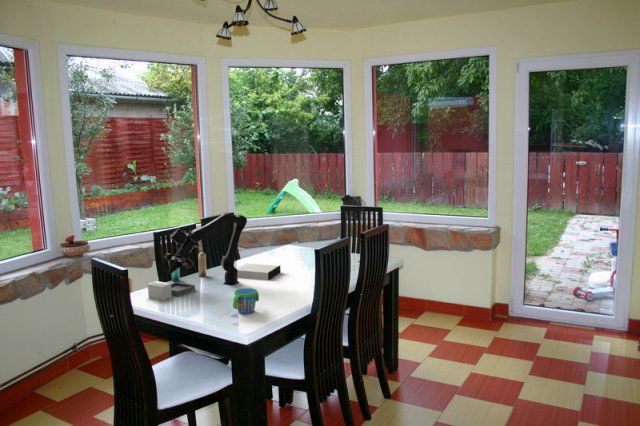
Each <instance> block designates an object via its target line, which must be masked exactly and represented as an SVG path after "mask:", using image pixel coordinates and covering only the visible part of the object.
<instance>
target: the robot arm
mask: <svg viewBox="0 0 640 426" xmlns="http://www.w3.org/2000/svg"><path fill="white" fill-rule="evenodd" d="M227 222H231V223H233V232H232V234H231V238H230V241H229V246H228V247H227V248H228V249H227V252H226V254H225V255H222V257H221V261H220V264H221V267H222V269H223V270H224V271H225V272H224V282H223V284H224V285H229V286H234V285H237V284H239V283H240V281H238V277H237V272H238V270H237V268H236V267H235V256H236V255H235V254H236V251H237V248H238V245H239V241H240V238H241V234H242V232H243V230H244V229H245V227H246V225H247V224H248V219H247V217H246V216H245V215H243V214H241V213H240V214H232V213H227V212H224V213H222V214H221V215H219V216H218V217H217V218H214V219H213V220H212V221H210V222H208V223H207V224H205V225H203V226H200V227H197V228H195V229H192V230H191V231H189V232H186V233H185V232H184V231H182V230H181V229H180V228H177V229H176V230H174V231H173V232H172V233H171V235H170V238H169V239H171V240H172V241H174V243H176V244H177V245H181V246H179V247H178V248H177V250H178V251H177V252H176V253H174V254H172V253H169V252H167V253H165V254H164V255H163V258H164V259H166V260H167V262H169V267H168V274H170V275H172V273H173V272H174V271H175V270H176V269H178V268H179V269H180V268H185V269H190V268H192V267H193V266H194V262H193V261H192V259H191V256H192V254H191V252H192V251H193V249H194V248H199V247H200V246H199V242H201V240H202V239H203V240H204V238H205V237H206V236H207V235H208V234H209V233H210V232H211V231H213V230H214V229H216V228H217V227H219V226H221V225H222V224H224V223H227ZM174 256H175V257H174Z"/></svg>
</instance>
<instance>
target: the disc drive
mask: <svg viewBox="0 0 640 426" xmlns="http://www.w3.org/2000/svg"><path fill="white" fill-rule="evenodd" d="M236 269H237V270H238V272H237V278H243V279H253V280H262V281H263V280H264V281H270V280H272V279H273V278H275V277H276V276H278V275H279V274H280V273H281V272H282V271H281V269H282V268H281V265H274V264H273V265H271V264H260V263H259V264H258V263H249V262H248V263H244V264H243V265H241V266H239V267H237V268H236Z"/></svg>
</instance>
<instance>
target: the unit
mask: <svg viewBox="0 0 640 426" xmlns="http://www.w3.org/2000/svg"><path fill="white" fill-rule="evenodd" d="M171 284H172V283H170V282H165V281H164V282H163V281H158V280H155V281H152V282H150V283H147V291H148V292H147V294H148V298H151V299H156V300H157V299H158V300H162V301H164V300H166V299H169V298H171V297H172V296H173V295H171Z"/></svg>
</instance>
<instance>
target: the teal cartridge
mask: <svg viewBox="0 0 640 426" xmlns="http://www.w3.org/2000/svg"><path fill="white" fill-rule="evenodd" d="M173 256H174V255H173ZM174 257H175V256H174ZM180 275H181V274H180V267H179V268H178V269H176V270H175V271H174V272H173V273H171V281H172V282H173V283H175V282H179V281H180V280H181V279H180V277H181V276H180Z"/></svg>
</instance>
